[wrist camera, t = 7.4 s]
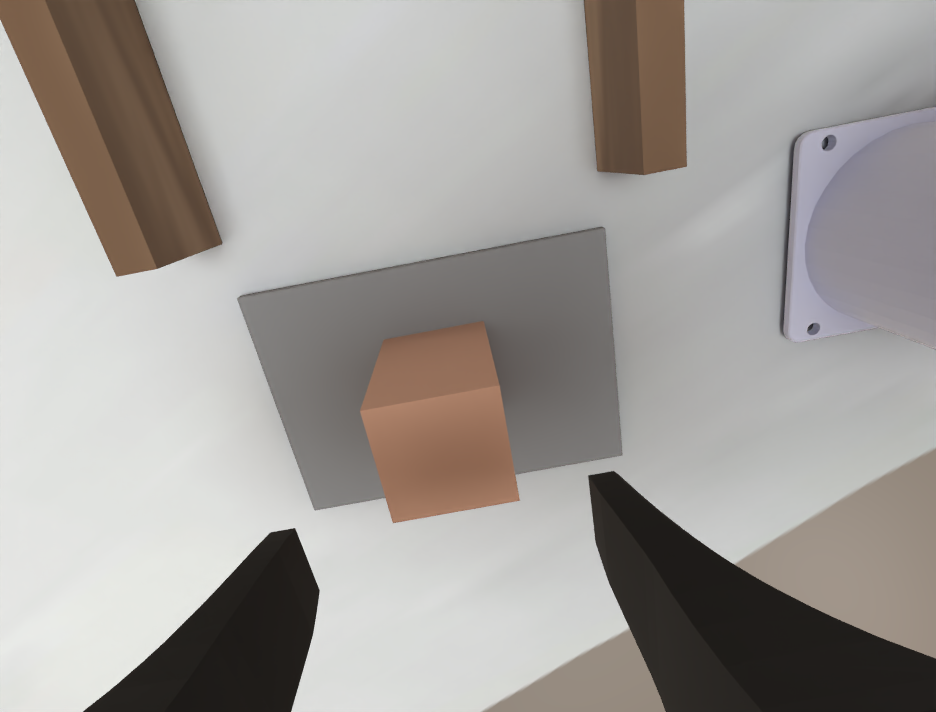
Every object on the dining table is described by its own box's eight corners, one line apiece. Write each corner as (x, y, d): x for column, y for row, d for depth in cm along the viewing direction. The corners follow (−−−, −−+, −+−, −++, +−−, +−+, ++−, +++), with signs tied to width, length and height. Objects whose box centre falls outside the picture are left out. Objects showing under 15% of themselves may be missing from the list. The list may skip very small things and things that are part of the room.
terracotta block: (483, 320, 20) (499, 385, 14) (499, 410, 21) (519, 500, 15) (383, 339, 20) (359, 410, 14) (406, 427, 21) (393, 523, 16)
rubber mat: (601, 226, 19) (605, 228, 18) (619, 450, 22) (622, 455, 22) (241, 295, 19) (236, 298, 19) (316, 504, 23) (314, 510, 22)
